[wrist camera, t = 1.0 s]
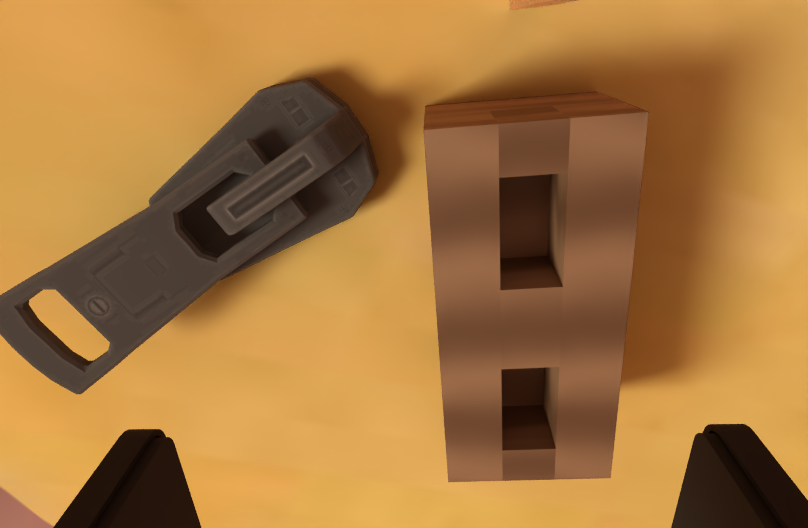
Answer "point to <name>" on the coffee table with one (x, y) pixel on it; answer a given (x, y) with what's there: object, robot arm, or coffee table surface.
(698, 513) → the robot arm
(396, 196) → the coffee table surface
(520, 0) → the pinkish wooden bar
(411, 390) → the coffee table surface
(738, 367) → the coffee table surface
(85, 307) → the zipper pull
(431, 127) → the slotted wooden block
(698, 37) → the coffee table surface
